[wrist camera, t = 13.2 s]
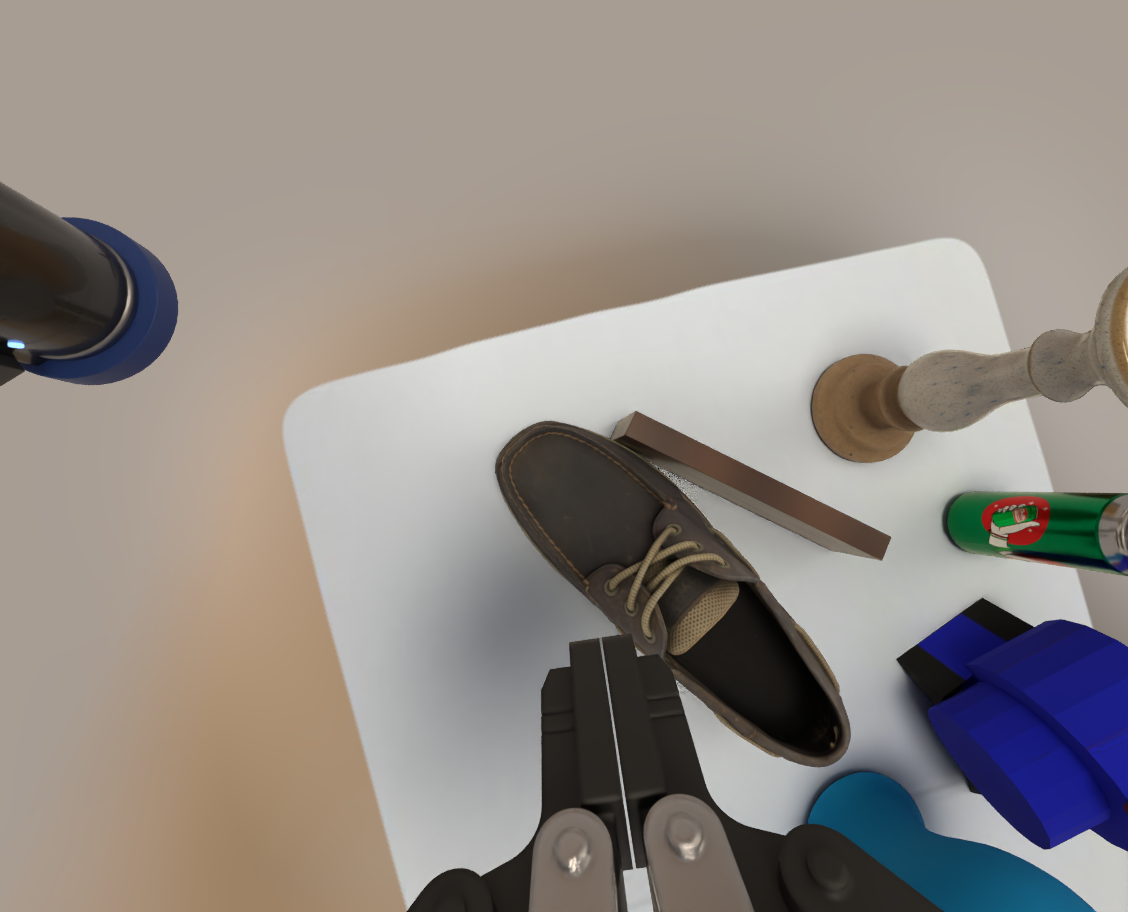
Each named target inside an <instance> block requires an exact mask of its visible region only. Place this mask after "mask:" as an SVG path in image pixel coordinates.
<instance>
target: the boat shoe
mask: <svg viewBox="0 0 1128 912" xmlns="http://www.w3.org/2000/svg"><path fill="white" fill-rule="evenodd" d="M495 473H496V476H497V480H498V483H499V486H500V490H501V492H502V495H503V497H504V500H505V502H506V503H507V505H508V507H509V509H510V511H511V512H512V514H513V516H514V517H515V519H516V521H517V522H518V524H519V525H520V527H521V528H522V530H523V531H524V533H525V534H526V535H527V537H528V538H529V539H530V541H531V542H532V543H533V545H534V546H535V547H536V548H537V550H538V551H539V552H540V553H541V554H542V556H543V557H544V558H545V559H546V560H547V561H548V562H549V563H550V564H551V565H552V566H553V567H554V568H555V569H556V570H557V571H558V572H559V573H560V574H561V575H562V576H564V577H565V578H566V579H567V580H568V581H569V582H571V583H572V584H573V585H574V586H575V587H576V588H577V589H578V590H579V591H580V592H582V593H583V594H584V595H585V596H586V597H587V598H588V599H589V600H590V601H591V602H592V603H593V604H594V605H596V606H597V607H598V608H599V609H600V610H601V611H602V612H603V613H604V614H605V615H606V616H607V617H608V619H609V620H610V621H611V622H612V623H614V624H615V626H616V628H617V629H618V631H619V632H620V633H621V635H623V634H630V633H631V634H632V637H633V641H634V645H635V647H636V648H637V649H638V650H639V651H640V652H642V653H643V654H644V655H645V656H647V655H654V654H659V656H660V657H661V658H662V659H663V660H664V662H665V663H666V664H667V665H668V666H669V668H670V669H671V670H672V671H673V675H674V678H675V679H676V680H677V681H678V682H680V683H681V684H682V685H683V686H684V687H686V688H687V689H688V690H689V691H690V692H692V693H693V694H694V695H695V696H697V697H698V698H699V699H700V700H701V701H702V702H704V703H705V704H706V705H707V707H708V708H709V709H711V710H712V711H713V712H714V714H715V715H716V717H717V718H718V719H719V720H720V721H721V722H722V723H723V724H724V725H725V726H727V727H728V728H729V729H731V730H732V731H733V732H735V733H736V734H737V735H739V736H740V737H742V738H743V739H745V740H747V741H748V742H750V743H751V744H753V745H755V746H756V747H758V748H760V749H761V750H763V751H764V752H766V753H768V754H770V755H771V756H775V757H783V758H785V759H786V760H789V761H792V762H795V763H798V764H801V765H805V766H811V767H825V766H829V765H831V764H833V763H835V762H837V761H838V760H839V759H840V758H841V757H842V756H843V755H844V754H845V752H846V750H847V749H848V746H849V742H850V737H851V730H850V723H849V720H848V716H847V713H846V710H845V708H844V705H843V702H842V698H841V696H840V695H839V691H840V690H839V685H838V682H837V680H836V678H835V676H834V674H833V672H832V671H831V669H830V667H829V665H828V664H827V662H826V660H825V659H824V657H823V656H822V654H821V653H820V651H819V650H818V648H817V647H816V646H815V644H814V643H813V641H812V640H811V638H810V637H809V636H808V634H807V633H806V632H805V630H804V629H803V628H801V627H800V626H799V625H798V624H796V622H795V621H794V620H793V619H792V617H791V616H790V615H789V614H788V613H787V612H786V610H785V609H784V608H783V607H782V606H781V605H780V604H779V603H778V602H777V600H776V599H775V598H774V596H773V595H772V593H771V592H770V591H769V589H768V588H767V586H766V585H765V584H764V583H763V582H762V581H761V580H760V577H759V575H758V574H757V572H756V571H755V569H754V568H753V567H752V566H751V564H750V563H749V562H748V561H747V560H746V559H745V558H744V557H743V556H742V555H741V553H740V552H739V551H738V550H737V549H736V548H735V547H734V546H733V544H732V543H731V542H730V541H729V540H728V539H727V538H726V537H725V536H724V535H723V534H722V533H721V532H719V531H718V530H716V529H714V528H713V527H712V526H711V524H710V523H709V522H708V520H707V519H706V518H705V516H704V515H703V514H702V513H701V512H700V510H699V509H698V508H697V507H696V506H695V505H694V504H693V503H692V502H691V500H690V499H689V498H688V497H687V496H686V495H685V494H684V493H683V492H682V491H681V490H680V489H679V488H678V487H677V486H676V485H675V484H674V483H673V482H672V481H671V480H670V479H669V478H668V477H667V476H665V475H664V474H663V473H662V472H661V471H659V470H658V469H657V468H656V467H654V466H653V465H652V464H650V463H649V462H648V461H646V460H645V459H643V458H642V457H641V456H639V455H638V454H636V453H635V452H633V451H631V450H630V449H628V448H627V447H625V446H623V445H621V444H620V443H618V442H616V441H614V440H612V439H609V438H607V437H605V436H602V435H599V434H597V433H594V432H592V431H589V430H586V429H583V428H579V427H576V426H572V425H569V424H564V423H559V422H555V421H543V422H539V423H536V424H534V425H531V426H529V427H527V428H526V429H524V430H522V431H521V432H519V433H518V434H517V435H516V436H514V437H513V438H512V439H511V440H510V441H509V442H508V443H507V444H506V446H505V447H504V448H503V449H502V451H501V452H500V454H499V456H498V458H497V460H496V465H495Z"/></svg>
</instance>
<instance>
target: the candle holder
mask: <svg viewBox="0 0 1128 912" xmlns="http://www.w3.org/2000/svg"><path fill="white" fill-rule="evenodd" d="M1098 385H1106V386H1108V387H1109V388H1111V389H1112V390H1113V392H1114V393H1115V395H1116V396H1117V397H1118V398H1119V399H1120V401H1122V403H1123V404H1124V405H1125V406H1126V407H1128V267H1127V268H1126V269H1125V270H1123V271H1122V272H1121V273H1120V274H1119V275H1117V276H1116V277H1115V278H1114V280H1113V281H1112V282H1111V283H1110V284H1109V286H1108V287H1107V289H1106V291H1105V292H1104V294H1103V296H1102V298H1101V301H1100V303H1099V306H1098V310H1097V314H1096V318H1095V325H1094V327H1093V329H1092V330H1091V331H1089V332H1087V333H1084V334H1080V333H1076V332H1072V331H1069V330H1062V329H1057V330H1051V331H1048V332H1045V333H1043V334H1042V335H1041V336H1039V337H1038V338H1037V339H1036V340H1035V341H1034V342H1033V344H1032V346H1031V347H1028V348H1024V349H1020V350H1016V351H1011V352H1006V353H1001V354H993V355H989V354H979V353H974V352H969V351H963V350H941V351H935V352H932V353H929V354H926V355H923V356H922V357H920V358H918V359H917V360H915V361H914V362H913V363H911V364H910V365H909V366H902V367H898V366H897V365H895V364H894V363H893V362H891V361H889V360H887V359H886V358H883V357H880V356H876V355H871V354H860V355H853V356H850V357H847V358H844V359H842V360H840V361H838V362H836V363H835V364H833V365H832V366H831V367H829V368H828V369H827V370H826V371H825V372H824V373H823V375H822V376H821V378H820V379H819V381H818V383H817V385H816V387H815V390H814V394H813V399H812V415H813V420H814V423H815V426H816V429H817V431H818V433H819V435H820V437H821V438H822V440H823V441H824V442H825V444H826V445H827V446H828V447H829V448H830V449H831V450H832V451H834V452H835V453H837V454H838V455H840V456H842V457H843V458H845V459H848V460H851V461H855V462H862V463H872V462H878V461H883V460H886V459H888V458H891V457H893V456H894V455H896V454H898V453H899V452H900V451H901V450H903V449H904V448H905V446H906V445H907V444H908V443H909V441H910V440H911V438H912V437H913V434H914V432H916V431H920V430H923V429H926V430H930V431H936V432H952V431H957V430H961V429H964V428H966V427H969V426H971V425H973V424H974V423H976V422H978V421H980V420H982V419H983V418H985V417H986V416H987V415H989V414H990V413H991V412H993V411H994V410H996V409H997V408H999V407H1001V406H1003V405H1005V404H1007V403H1010V402H1014V401H1018V400H1023V399H1027V398H1032V397H1037V396H1045V397H1047V398H1048V399H1050V400H1053V401H1056V402H1071V401H1074V400H1077V399H1079V398H1081V397H1082V396H1084V395H1085V394H1086V393H1087V392H1088V391H1089V390H1091V389H1092V388H1093V387H1094V386H1098Z"/></svg>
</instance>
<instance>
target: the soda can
mask: <svg viewBox="0 0 1128 912" xmlns="http://www.w3.org/2000/svg"><path fill="white" fill-rule="evenodd" d="M947 527H948V530H949V533H950V535H951V537H952V538H953V540H954V541H955V543H956V544H957V545H958V546H959V547H960V548H962V549H963V550H965V551H967V552H970V553H974V554H981V555H988V556H995V557H1001V558H1008V559H1015V560H1022V561H1029V562H1035V563H1042V564H1049V565H1056V566H1063V567H1070V568H1076V569H1084V570H1090V571H1097V572H1104V573H1111V574H1117V575H1124V576H1128V493H1060V492H1058V493H1057V492H981V491H974V492H968V493H965V494H963V495H961V496H960V497H958V498H957V499H956V500H955V502H954V503H953V504H952V506H951V507H950V509H949V512H948V515H947Z"/></svg>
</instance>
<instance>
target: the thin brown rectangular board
mask: <svg viewBox="0 0 1128 912" xmlns="http://www.w3.org/2000/svg"><path fill="white" fill-rule="evenodd" d="M610 439H612V440H614V441H616V442H618V443H620V444H621V445H623V446H625V447H627V448H628V449H630V450H631V451H633V452H635V453H636V454H638V455H639V456H641V457H642V458H643V459H645V460H647V461H649V462H651V463H653V464H655V465H657V466H659V467H661V468H663V469H665V470H667V471H669V472H671V473H673V474H675V475H677V476H679V477H682V478H684V479H686V480H688V481H690V482H692V483H694V484H696V485H698V486H700V487H702V488H704V489H706V490H708V491H710V492H712V493H714V494H716V495H718V496H721V497H723V498H725V499H727V500H729V501H731V502H733V503H735V504H737V505H739V506H741V507H743V508H745V509H747V510H749V511H751V512H753V513H755V514H758V515H760V516H762V517H764V518H766V519H768V520H770V521H772V522H774V523H776V524H778V525H780V526H782V527H784V528H786V529H788V530H790V531H792V532H794V533H797V534H799V535H801V536H803V537H805V538H807V539H809V540H811V541H813V542H815V543H817V544H819V545H821V546H823V547H825V548H827V549H829V550H831V551H836V552H841V553H846V554H851V555H856V556H861V557H866V558H871V559H876V560H882V559H883V557H884V554H885V552H886V549H887V547H888V544H889V542H890V539H891V537H890V536H888V535H886V534H884V533H882V532H880V531H878V530H876V529H874V528H872V527H870V526H868V525H866V524H864V523H862V522H860V521H858V520H856V519H854V518H852V517H850V516H848V515H846V514H844V513H842V512H840V511H838V510H836V509H833V508H831V507H829V506H827V505H825V504H823V503H821V502H819V501H817V500H815V499H813V498H811V497H809V496H807V495H805V494H803V493H801V492H799V491H797V490H795V489H793V488H791V487H789V486H787V485H785V484H783V483H781V482H779V481H777V480H775V479H773V478H771V477H769V476H767V475H765V474H763V473H761V472H759V471H757V470H755V469H753V468H750V467H748V466H746V465H744V464H742V463H740V462H738V461H736V460H734V459H732V458H730V457H728V456H726V455H724V454H722V453H720V452H718V451H716V450H714V449H712V448H710V447H708V446H706V445H704V444H702V443H700V442H698V441H696V440H694V439H692V438H690V437H688V436H686V435H684V434H682V433H680V432H678V431H676V430H674V429H672V428H669V427H667V426H665V425H663V424H661V423H659V422H657V421H655V420H653V419H651V418H649V417H647V416H645V415H643V414H641V413H639V412H637V411H635V412H634V413H632V414H630V415H629V416H627V417H625V418H624V419H622V420H620V421H619V422H618V423H617V425H616V427H615V430H614V432H613V434H612V436H611V438H610Z"/></svg>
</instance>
